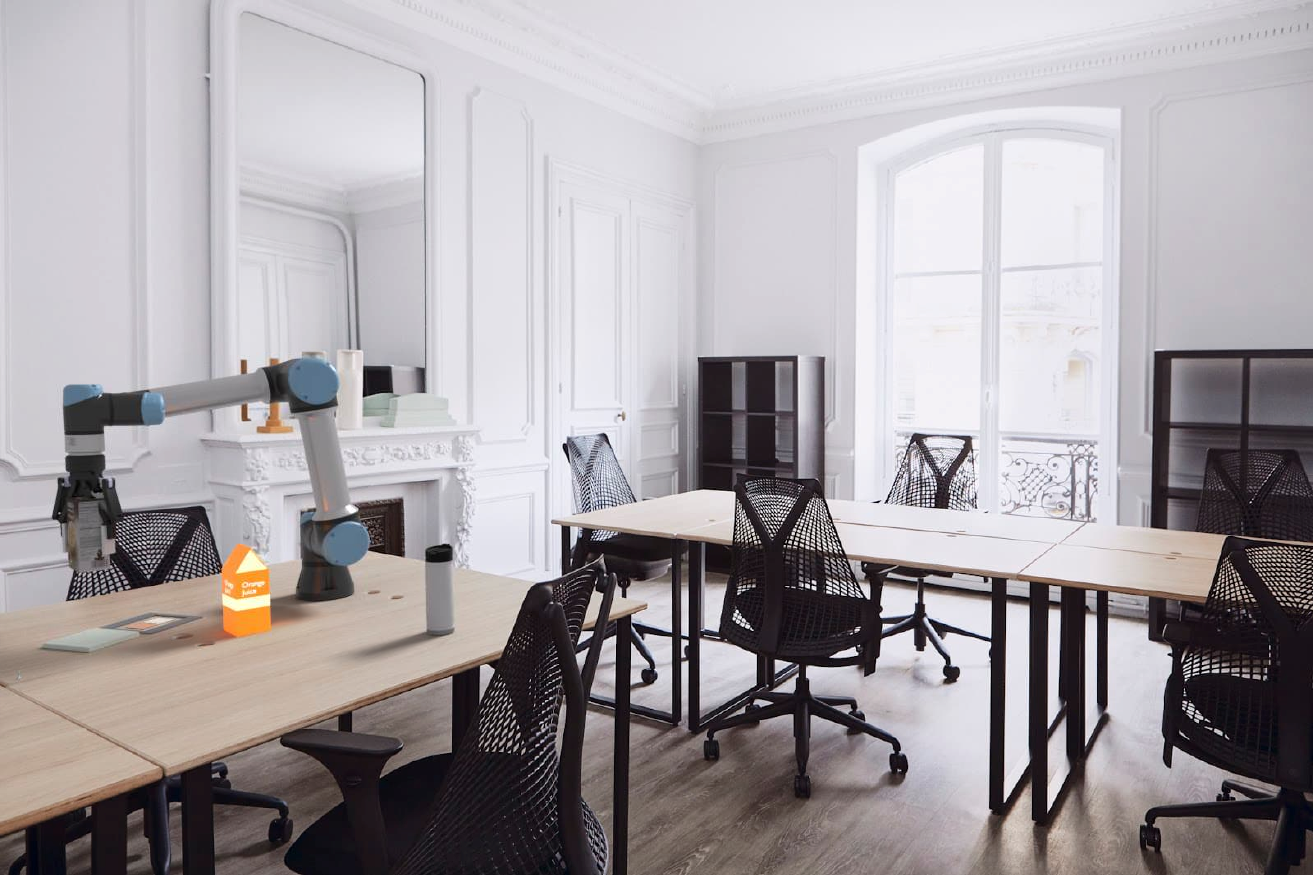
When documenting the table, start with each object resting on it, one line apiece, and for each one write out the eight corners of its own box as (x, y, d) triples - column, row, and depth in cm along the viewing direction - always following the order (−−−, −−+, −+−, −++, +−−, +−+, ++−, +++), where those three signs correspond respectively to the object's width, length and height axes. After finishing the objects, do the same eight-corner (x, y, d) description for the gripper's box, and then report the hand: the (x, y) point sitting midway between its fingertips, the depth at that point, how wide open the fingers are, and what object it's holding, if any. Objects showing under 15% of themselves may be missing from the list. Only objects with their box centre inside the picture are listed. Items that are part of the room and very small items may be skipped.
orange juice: (257, 623, 216) (254, 541, 215) (271, 630, 209) (268, 545, 208) (222, 630, 210) (219, 545, 209) (236, 637, 204) (233, 550, 203)
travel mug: (460, 629, 209) (458, 544, 208) (445, 636, 203) (443, 549, 202) (437, 627, 211) (435, 542, 210) (421, 634, 205) (419, 547, 204)
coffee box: (67, 567, 201) (64, 496, 200) (99, 563, 206) (96, 493, 205) (78, 573, 195) (75, 499, 194) (112, 569, 199) (109, 497, 199)
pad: (139, 636, 205) (139, 631, 205) (89, 652, 193) (89, 647, 193) (94, 632, 209) (94, 628, 209) (42, 647, 196) (42, 643, 196)
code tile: (202, 617, 221) (202, 616, 221) (151, 634, 207) (151, 633, 207) (149, 613, 226) (149, 612, 226) (96, 629, 211) (96, 628, 211)
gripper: (29, 454, 198) (33, 553, 200) (111, 455, 192) (115, 558, 193) (60, 451, 206) (64, 547, 207) (140, 453, 199) (144, 552, 200)
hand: (89, 552), depth 200 cm, fingers closed on coffee box, 10 cm apart
